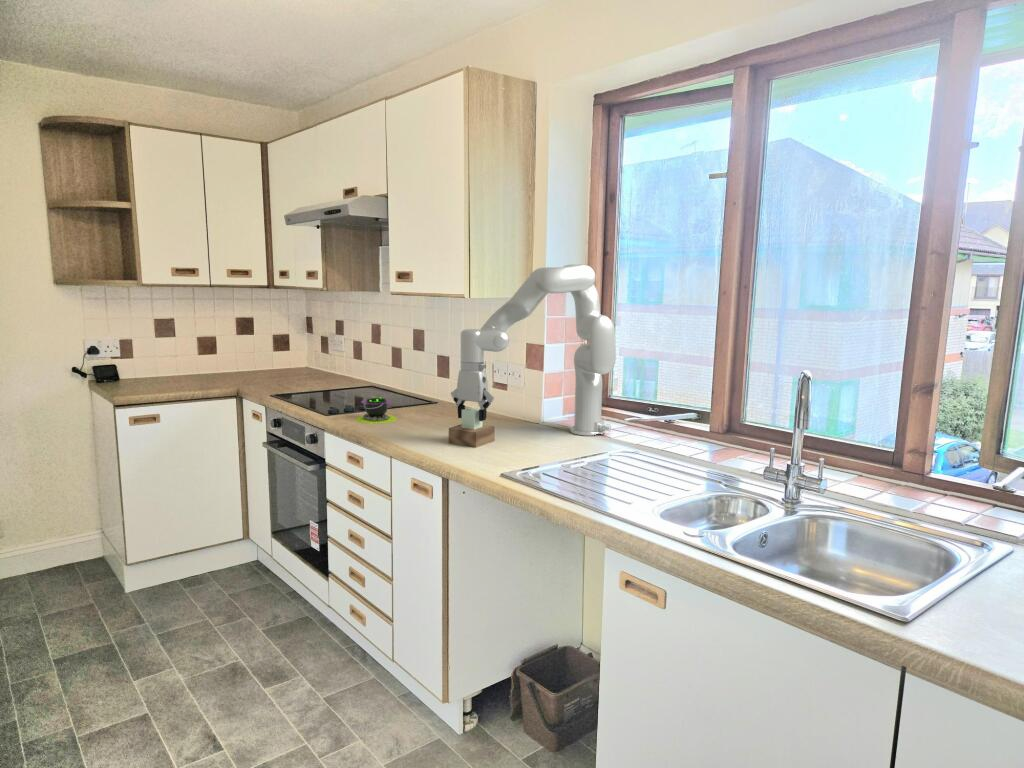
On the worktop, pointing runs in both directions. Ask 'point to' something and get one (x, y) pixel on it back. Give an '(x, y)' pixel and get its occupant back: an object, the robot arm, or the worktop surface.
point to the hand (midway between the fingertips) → (471, 418)
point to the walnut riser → (471, 435)
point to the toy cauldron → (376, 411)
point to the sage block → (471, 418)
